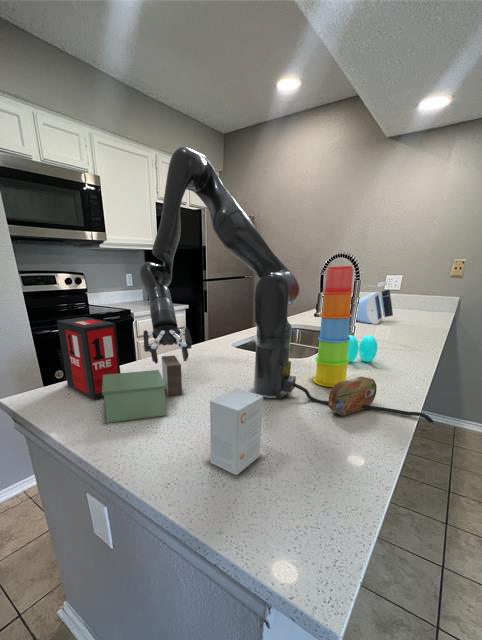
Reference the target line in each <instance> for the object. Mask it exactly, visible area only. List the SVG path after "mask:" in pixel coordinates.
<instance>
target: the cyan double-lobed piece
mask: <svg viewBox="0 0 482 640" xmlns="http://www.w3.org/2000/svg"><path fill="white" fill-rule="evenodd" d="M348 337H350V340H349V342H348V354H347V358H348V359H349V363H350V362H351V363H352V362H354V360H356V358H357V357H358V354H359V357H360V359H361V360H362V361H363V362H365V363H370V362H372V361H374V359H375V358H376V356H377V353H378V342H377V339H376V338H375V337H374V336H373V335H371V334H368V335H365V336H363V338H362V339H361V340H360V342H358V339H357V338H356V337H355V336H354V335H351V334H349V336H348Z"/></svg>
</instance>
